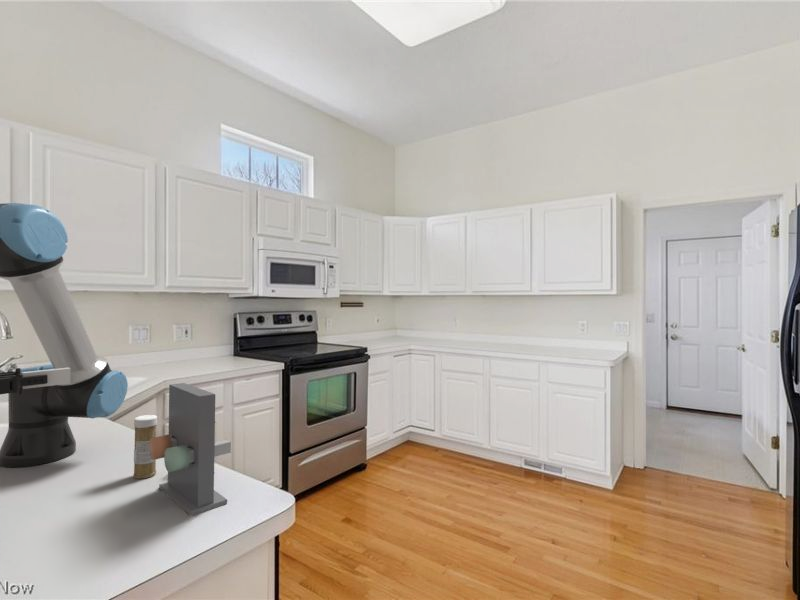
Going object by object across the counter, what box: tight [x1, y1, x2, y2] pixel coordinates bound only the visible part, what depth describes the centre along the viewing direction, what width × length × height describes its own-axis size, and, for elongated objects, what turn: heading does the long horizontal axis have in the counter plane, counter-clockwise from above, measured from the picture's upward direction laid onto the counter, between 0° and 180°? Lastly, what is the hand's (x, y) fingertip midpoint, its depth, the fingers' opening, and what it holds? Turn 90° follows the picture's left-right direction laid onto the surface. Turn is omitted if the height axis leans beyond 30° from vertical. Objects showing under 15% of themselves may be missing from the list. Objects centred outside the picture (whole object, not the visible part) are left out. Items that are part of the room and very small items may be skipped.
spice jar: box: [133, 414, 158, 479], centre depth 98 cm, size 5×5×14 cm
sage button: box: [163, 439, 232, 473], centre depth 85 cm, size 4×12×4 cm, turn 137°
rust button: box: [149, 434, 177, 460], centre depth 92 cm, size 4×12×4 cm, turn 137°
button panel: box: [158, 382, 228, 516], centre depth 89 cm, size 17×7×22 cm, turn 47°
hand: (69, 375), depth 78 cm, fingers closed
